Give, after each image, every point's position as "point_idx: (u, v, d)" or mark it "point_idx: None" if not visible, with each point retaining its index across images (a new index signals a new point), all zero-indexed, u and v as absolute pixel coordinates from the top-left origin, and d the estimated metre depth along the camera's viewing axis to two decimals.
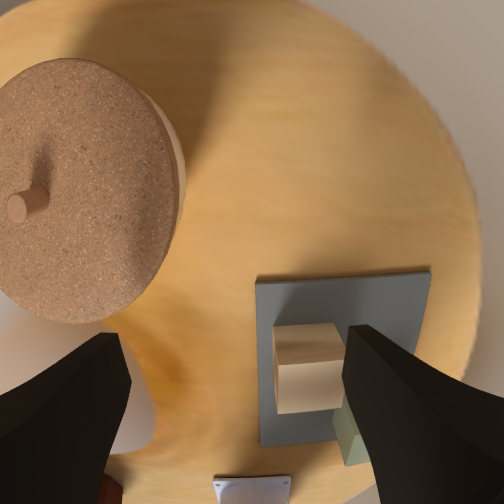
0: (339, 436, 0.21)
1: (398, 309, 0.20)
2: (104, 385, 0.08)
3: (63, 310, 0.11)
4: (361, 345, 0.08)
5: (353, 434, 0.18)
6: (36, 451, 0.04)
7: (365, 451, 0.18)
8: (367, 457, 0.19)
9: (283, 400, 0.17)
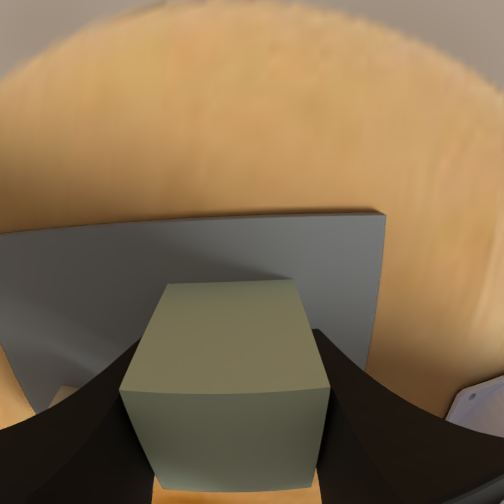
0: None
1: (19, 292, 0.10)
2: None
3: None
4: None
5: (171, 482, 0.07)
6: (101, 467, 0.04)
7: (246, 470, 0.06)
8: (284, 460, 0.06)
9: None
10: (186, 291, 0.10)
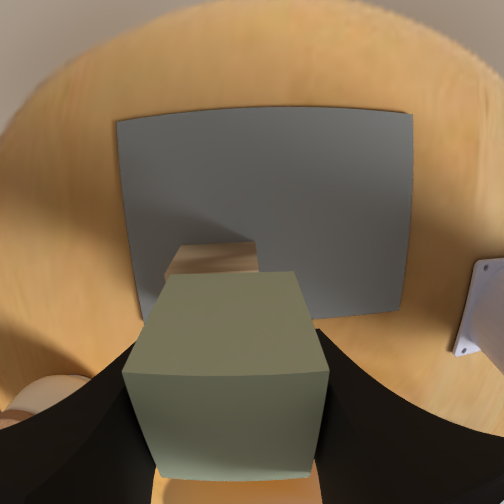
0: None
1: (164, 158, 0.16)
2: None
3: None
4: None
5: (170, 470, 0.07)
6: (100, 467, 0.04)
7: (246, 457, 0.07)
8: (283, 448, 0.06)
9: None
10: (188, 281, 0.10)
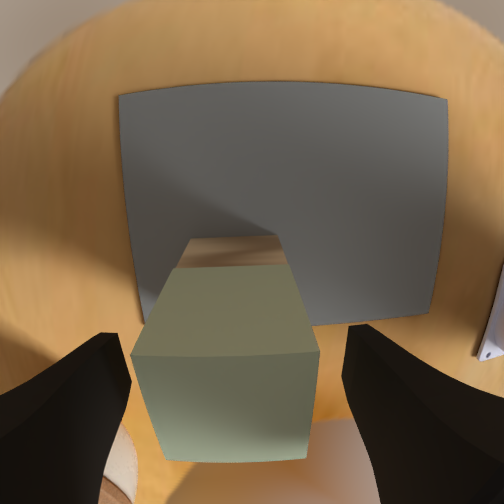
0: None
1: (173, 137, 0.13)
2: (104, 385, 0.08)
3: None
4: (361, 345, 0.08)
5: (174, 453, 0.08)
6: (36, 451, 0.04)
7: (245, 437, 0.07)
8: (279, 427, 0.07)
9: None
10: (190, 274, 0.10)
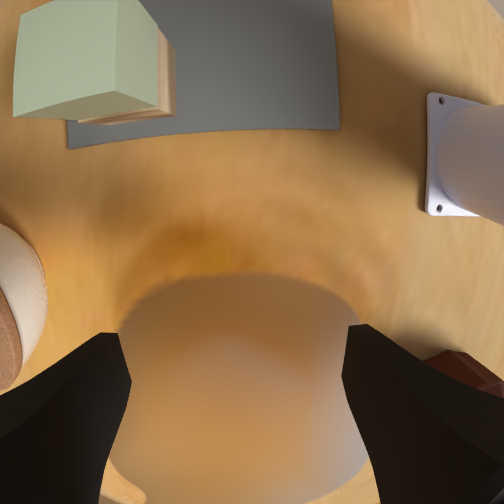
0: (123, 103, 0.10)
1: None
2: (104, 385, 0.08)
3: None
4: (361, 345, 0.08)
5: (21, 115, 0.08)
6: (36, 451, 0.04)
7: (68, 64, 0.07)
8: (92, 47, 0.07)
9: None
10: None
